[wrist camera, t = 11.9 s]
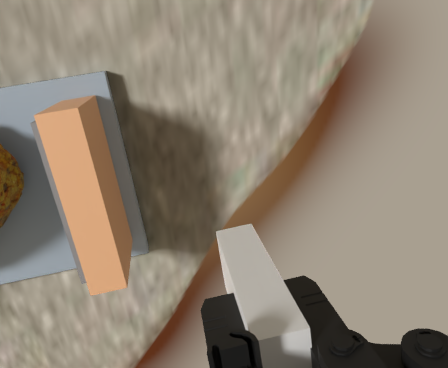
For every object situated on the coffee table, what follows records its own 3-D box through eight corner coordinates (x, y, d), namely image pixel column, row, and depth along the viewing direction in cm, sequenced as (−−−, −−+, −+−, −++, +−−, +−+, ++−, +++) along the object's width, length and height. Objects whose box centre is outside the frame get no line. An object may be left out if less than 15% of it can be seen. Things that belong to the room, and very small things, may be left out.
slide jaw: (53, 101, 28) (22, 117, 22) (95, 95, 28) (77, 107, 22) (96, 247, 32) (81, 297, 26) (132, 240, 33) (127, 287, 26)
